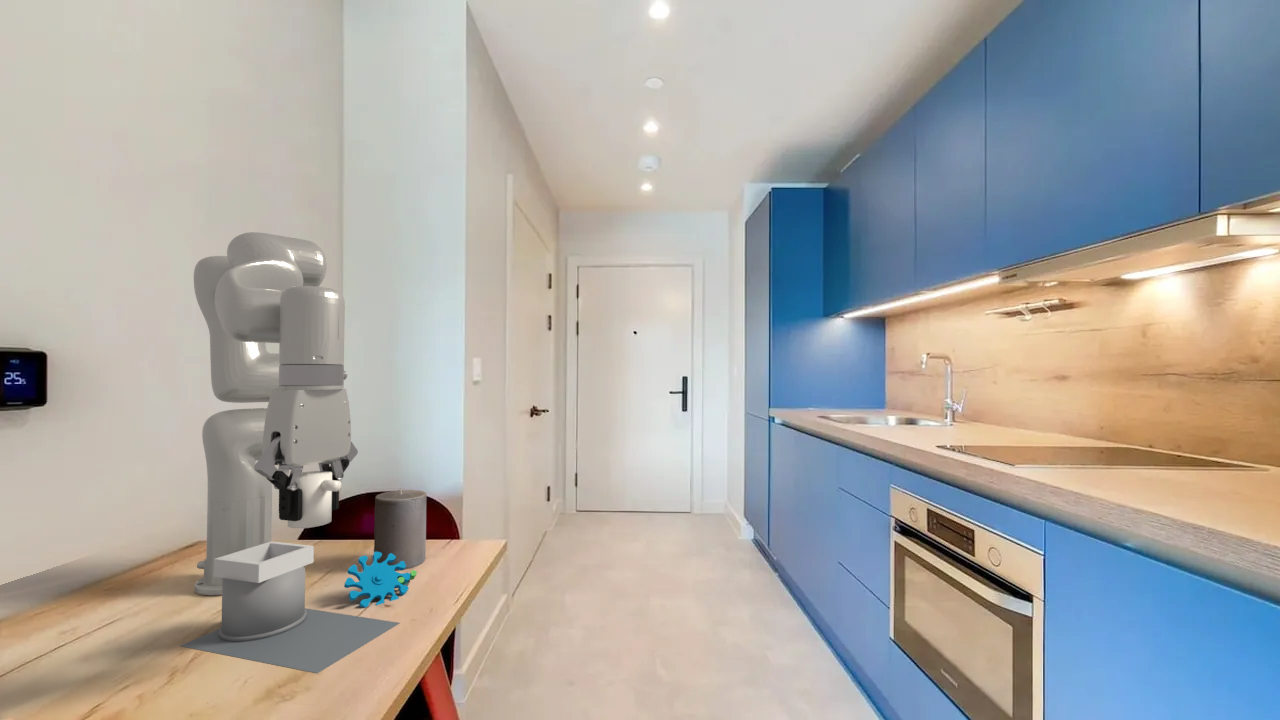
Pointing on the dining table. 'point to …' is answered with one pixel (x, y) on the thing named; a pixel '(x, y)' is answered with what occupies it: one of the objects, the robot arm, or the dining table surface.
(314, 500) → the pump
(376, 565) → the gear
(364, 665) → the dining table surface
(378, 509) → the pillar candle
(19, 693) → the dining table surface
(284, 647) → the motor stand
